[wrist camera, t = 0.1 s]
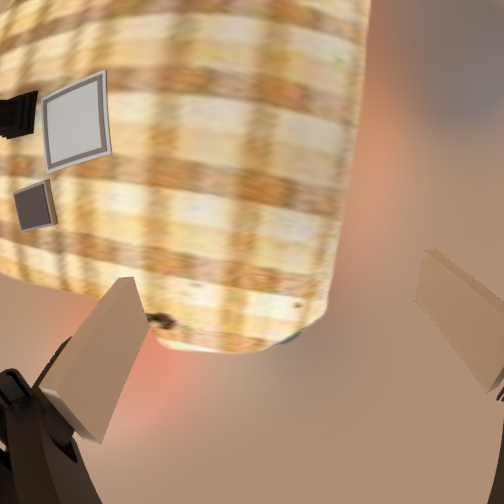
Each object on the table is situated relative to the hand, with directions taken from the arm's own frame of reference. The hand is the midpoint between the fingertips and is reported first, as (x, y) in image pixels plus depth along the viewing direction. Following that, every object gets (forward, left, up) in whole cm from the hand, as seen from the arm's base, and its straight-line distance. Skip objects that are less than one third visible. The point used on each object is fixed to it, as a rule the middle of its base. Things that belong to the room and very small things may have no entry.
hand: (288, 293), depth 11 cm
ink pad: (-3, -40, -28) cm, 49 cm away
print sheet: (-15, -28, -28) cm, 43 cm away
